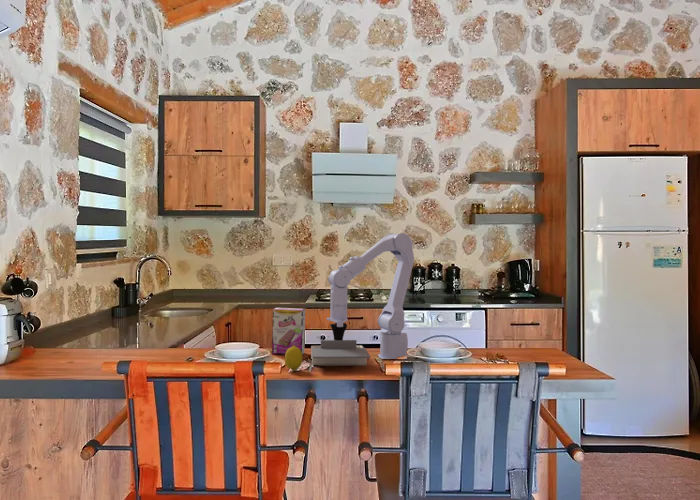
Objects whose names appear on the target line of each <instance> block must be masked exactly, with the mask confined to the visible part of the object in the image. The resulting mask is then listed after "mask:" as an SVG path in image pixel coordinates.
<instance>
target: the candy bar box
mask: <svg viewBox="0 0 700 500" xmlns="http://www.w3.org/2000/svg"><path fill="white" fill-rule="evenodd" d="M305 325H306V309H305V308H293V307H292V308H291V307H290V308H289V307H275V308H273V309H272V333H271V334H272V337H271V338H272V340H271V342H272V343H271V344H272V345H271V353H272V355H285V354H286V351H287V350H288V349H289V348H290V347H292V346H296V347H297V348H299V349H300V350H301V352H302V356H303V355H304V354H305V342H306V341H305V339H306V338H305V336H306V335H305V330H306V329H305V327H306V326H305Z"/></svg>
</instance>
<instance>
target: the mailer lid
mask: <svg viewBox="0 0 700 500" xmlns="http://www.w3.org/2000/svg"><path fill="white" fill-rule="evenodd" d="M320 346H321V348H312V354H313V359H325V358H367V359H371V355H370V353H369V352H368V350H367V349H366V347H363V348H356V346H357V340H356V339H343V340H334V339H329V340H328V339H327V340H326V339H324V340H323V339H321V340H320Z"/></svg>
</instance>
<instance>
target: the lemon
mask: <svg viewBox="0 0 700 500" xmlns="http://www.w3.org/2000/svg"><path fill="white" fill-rule="evenodd" d="M284 363H285V365H286V366H287V368H288V369H290V370H292V372H295V371H296V370H297V369H299V368H300V367H301V365H302V364H303V355H302V352H301V350H300V349H299V348H297V347H296V346H292V347H290V348H289V349H288V350H287V351H286V354H285V356H284Z"/></svg>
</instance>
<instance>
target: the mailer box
mask: <svg viewBox="0 0 700 500" xmlns="http://www.w3.org/2000/svg"><path fill="white" fill-rule="evenodd" d="M312 348H321V345H311V346H310V360H311V359H312V361H311V365H312V364H313V365H319V366H318V367H340V366H343V367H345V366H350V367H351V366H352V367H353V366H355V367H356V366H358V367H361V366H363V367H364V366H368V364H367V361H368V358H325V359H313V354H312ZM356 348H364V346H363V345H356Z"/></svg>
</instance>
